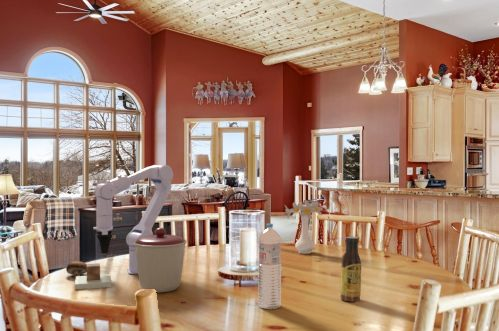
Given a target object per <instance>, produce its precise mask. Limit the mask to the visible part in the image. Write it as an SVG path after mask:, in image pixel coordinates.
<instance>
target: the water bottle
mask: <svg viewBox="0 0 499 331" xmlns="http://www.w3.org/2000/svg"><path fill="white" fill-rule="evenodd" d="M273 227H274V224H273V223H266V229H265V230H263V231H262V232H261V233H260V234H259V236H258V264H257V265H258V271H257V272H258V273H257V274H258V288H257V290H258V294H257V295H258V306H259V308H261V309H265V310H276V309H279V308H280V307H281V305H282V303H281V302H282V300H281V299H282V263H281V262H282V258H281V253H282V252H281V251H282V250H281V249H282V248H281V246H282V244H281V243H282V238H281V236H280V234H279V233H278V232H277V230H275V229H274V228H273Z"/></svg>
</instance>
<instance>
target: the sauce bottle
mask: <svg viewBox="0 0 499 331" xmlns="http://www.w3.org/2000/svg"><path fill="white" fill-rule="evenodd" d="M359 240H360V239H359V237H357V236H346V237H345V252H344V253H343V255H342V257H341V267H340V299H341V300H342V301H344V302H350V303H352V302H353V303H355V302H359V301H360V300H361V292H362V291H361V287H362V261H361V256H360V255H359V249H358V248H359Z"/></svg>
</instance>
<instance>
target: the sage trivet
mask: <svg viewBox="0 0 499 331" xmlns="http://www.w3.org/2000/svg"><path fill="white" fill-rule="evenodd" d="M102 288H112V277H111V273H109V274H100V280H91V281H87V275H80V276H75V280H74V290H87V289H89V290H90V289H102Z"/></svg>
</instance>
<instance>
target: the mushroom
mask: <svg viewBox="0 0 499 331" xmlns="http://www.w3.org/2000/svg"><path fill="white" fill-rule="evenodd" d="M87 264H88V263H85V262H83V261H80V260H75V261H71V262H69V263H68V264H67V265H66V269H65V271H66V273H67V274H68V275H72V276H74V277H76V276H81V275H83V274H84V275H85V274H87Z"/></svg>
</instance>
